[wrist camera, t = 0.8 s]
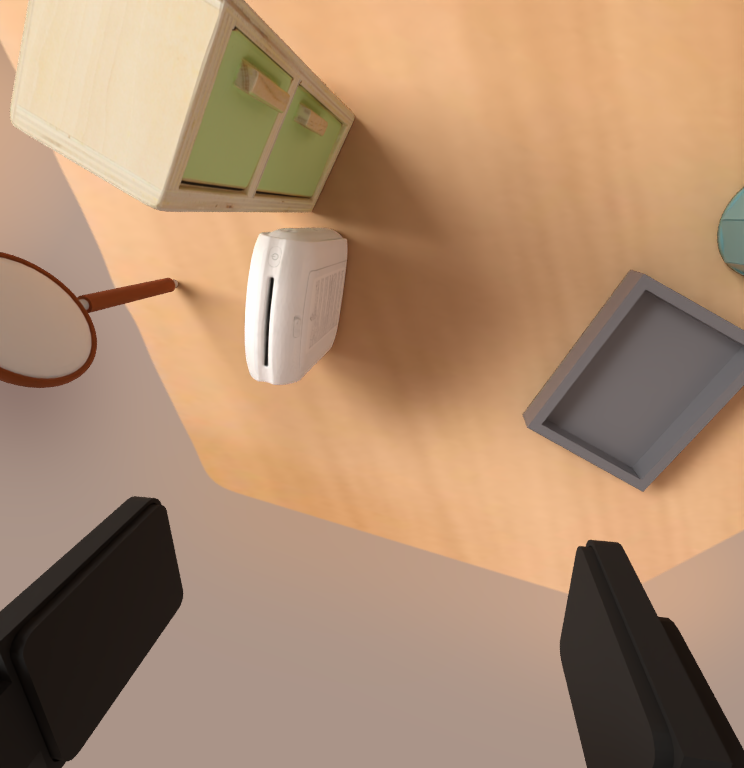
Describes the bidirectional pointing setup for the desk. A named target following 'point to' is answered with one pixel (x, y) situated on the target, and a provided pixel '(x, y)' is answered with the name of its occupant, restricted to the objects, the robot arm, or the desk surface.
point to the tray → (640, 381)
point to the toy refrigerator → (178, 103)
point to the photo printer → (293, 301)
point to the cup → (733, 233)
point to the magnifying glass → (52, 323)
